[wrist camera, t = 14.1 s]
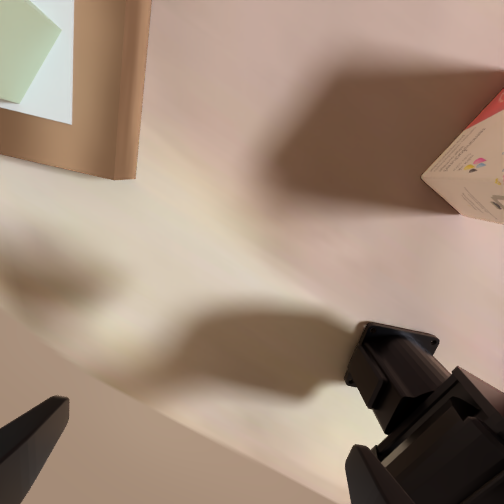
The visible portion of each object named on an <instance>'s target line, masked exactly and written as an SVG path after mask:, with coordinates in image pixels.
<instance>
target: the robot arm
mask: <svg viewBox="0 0 504 504" xmlns="http://www.w3.org/2000/svg"><path fill="white" fill-rule="evenodd" d="M372 328H374V329H373V330H371V329H372ZM431 341H432V342H431ZM439 342H440V341H439V339H438V338H437V337H436V336H434V335H431V334H426V333H421V332H416V331H411V330H406V329H401V328H397V327H392V326H387V325H382V324H377V323H369V324H367V325H366V327H365V329H364V332H363V334H362V336H361V339H360V341H359V344H358V345H357V346H356V349H355V351H354V353H353V356H352V358H351V361H350V363H349V365H348V370H347V372H346V375H345V377H344V380H345V383H346V384H347V385H348V386H352V387H357V388H358V390H359V392H360V394H361V396H362V398H363V400H364V402H365V404H366V406H367V407H368V408H369V409H372V410H373V412H374V414H375V416H376V418H377V420H378V422H379V424H380V425H381V427H382V429H383V431H384V433H385V434H387V435H388V436H387V437H386V438H385V439H384V440H383V441H382V442H381V443H380V444H379V445H378V446H377V445H375V446H374V447H373V448H372V449H371V450H370V449H369V448H368V447H366V446H363V445H357V444H355V445H353V447H352V449H351V451H350V453H349V455H348V457H347V459H346V463H345V471H346V476H347V482H348V488H349V494H350V499H351V504H504V393H503V392H501V391H500V390H498V389H496V388H494V387H493V386H491V385H489V384H488V383H486V382H484V381H483V380H481V379H479V378H477V377H476V376H474V375H472V374H471V373H469V372H467V371H466V370H464V369H462V368H460V367H459V366H457V367H456V368H455V369H454V370H453V371H452V374H450V373H449V372H448V371H447V370H446V369H445V368H444V367H443V365H442V364H441V363H440V362H439V361H438V360H437V359H436V358H435V357H434V356H433V354H434V352H435V350H436V349H437V347H438V345H439ZM68 419H69V398H67V397H64V396H52V397H50V398H49V399H47V400H45V401H44V402H42V403H40V404H39V405H37V406H36V407H34V408H32V409H31V410H29V411H28V412H26V413H24V414H23V415H21V416H20V417H18V418H16V419H15V420H13V421H11V422H10V423H8V424H7V425H5V426H4V427H2V428H0V504H20V503H21V502H22V500H23V499H24V497H25V496H26V494H27V493H28V491H29V490H30V488H31V486H32V485H33V483H34V481H35V480H36V478H37V476H38V474H39V473H40V471H41V469H42V467H43V466H44V464H45V462H46V460H47V458H48V457H49V455H50V453H51V452H52V450H53V448H54V446H55V444H56V443H57V441H58V439H59V437H60V436H61V434H62V432H63V430H64V429H65V427H66V425H67V423H68Z"/></svg>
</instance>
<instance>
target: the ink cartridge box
mask: <svg viewBox="0 0 504 504" xmlns="http://www.w3.org/2000/svg"><path fill="white" fill-rule="evenodd" d="M421 179H422V180H423V181H424V182H425V183H427V184H428V185H429V186H430V187H431V188H432V189H433V190H435V191H436V192H437V193H438V194H439V195H440V196H441V197H442V198H444V199H445V200H446V201H447V202H448V203H449V204H450V205H451V206H452V207H453V208H455V209H456V210H457V211H458V212H459V213H460V214H461V215H463V216H466V217H470V218H475V219H480V220H485V221H489V222H494V223H499V224H503V225H504V88H503V89H502V90H501V91H500V93H499V94H498V95H497V96H496V97H495V98H494V99H493V100H492V101H491V102H490V103H489V104H488V105H487V106H486V107H485V108H484V109H483V110H482V112H481V113H480V114H479V115H478V116H477V117H476V118H475V119H474V120H473V121H472V122H471V123H470V124H469V125H468V127H467V128H466V129H465V130H464V131H463V132H462V133H461V134H460V135H459V136H458V137H457V138H456V139H455V140H454V141H453V143H452V144H451V145H450V146H449V147H448V148H447V149H446V150H445V151H444V152H443V153H442V154H441V155H440V156H439V157H438V158H437V160H436V161H435V162H434V163H433V164H432V165H431V166H430V167H429V168H428V169H427V170H426V171H425V172H424V173H423V175H422V176H421Z"/></svg>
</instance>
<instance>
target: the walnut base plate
mask: <svg viewBox="0 0 504 504" xmlns="http://www.w3.org/2000/svg"><path fill="white" fill-rule="evenodd" d="M30 1H31V2H32V3H33V4H34V5H35V6H36V7H37V8H39V9H40V10H41V11H42V12H43V13H44V14H45V15H46V16H47V17H48V18H49V19H50V20H52V21H53V22H54V23H55V24H56V25H57V26H58V27H59V28H60V29H61V30H62V31H61V33H60V35H59V36H58V38H57V40H56V41H55V43H54V45H53V47H52V48H51V50H50V52H49V54H48V55H47V57H46V59H45V61H44V62H43V64H42V66H41V67H40V69H39V71H38V73H37V74H36V76H35V78H34V80H33V81H32V83H31V85H30V87H29V88H28V90H27V92H26V93H25V95H24V97H23V99H22V100H21V102H20V104H18V103H15V102H11V101H8V100H5V99H1V98H0V154H3V155H7V156H11V157H16V158H20V159H24V160H29V161H33V162H37V163H42V164H46V165H50V166H55V167H59V168H63V169H68V170H72V171H76V172H81V173H85V174H89V175H94V176H98V177H103V178H107V179H111V180H124V179H135V178H136V167H137V156H138V145H139V134H140V123H141V112H142V101H143V90H144V79H145V68H146V57H147V46H148V35H149V24H150V13H151V2H152V0H30Z"/></svg>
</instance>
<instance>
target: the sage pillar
mask: <svg viewBox="0 0 504 504" xmlns="http://www.w3.org/2000/svg"><path fill="white" fill-rule="evenodd" d="M61 31H62V30H61V29H60V28H59V27H58V26H57V25H56V24H55V23H54V22H53V21H52V20H50V19H49V18H48V17H47V16H46V15H45V14H44V13H43V12H42V11H41V10H40V9H39V8H37V7H36V6H35V5H34V4H33V3H32V2H31V1H30V0H0V98H1V99H5V100H8V101H11V102H15V103H18V104H20V102H21V100H22V99H23V97H24V95H25V93H26V92H27V90H28V88H29V87H30V85H31V83H32V81H33V80H34V78H35V76H36V74H37V73H38V71H39V69H40V67H41V66H42V64H43V62H44V61H45V59H46V57H47V55H48V54H49V52H50V50H51V48H52V47H53V45H54V43H55V41H56V40H57V38H58V36H59V35H60V33H61Z"/></svg>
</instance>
